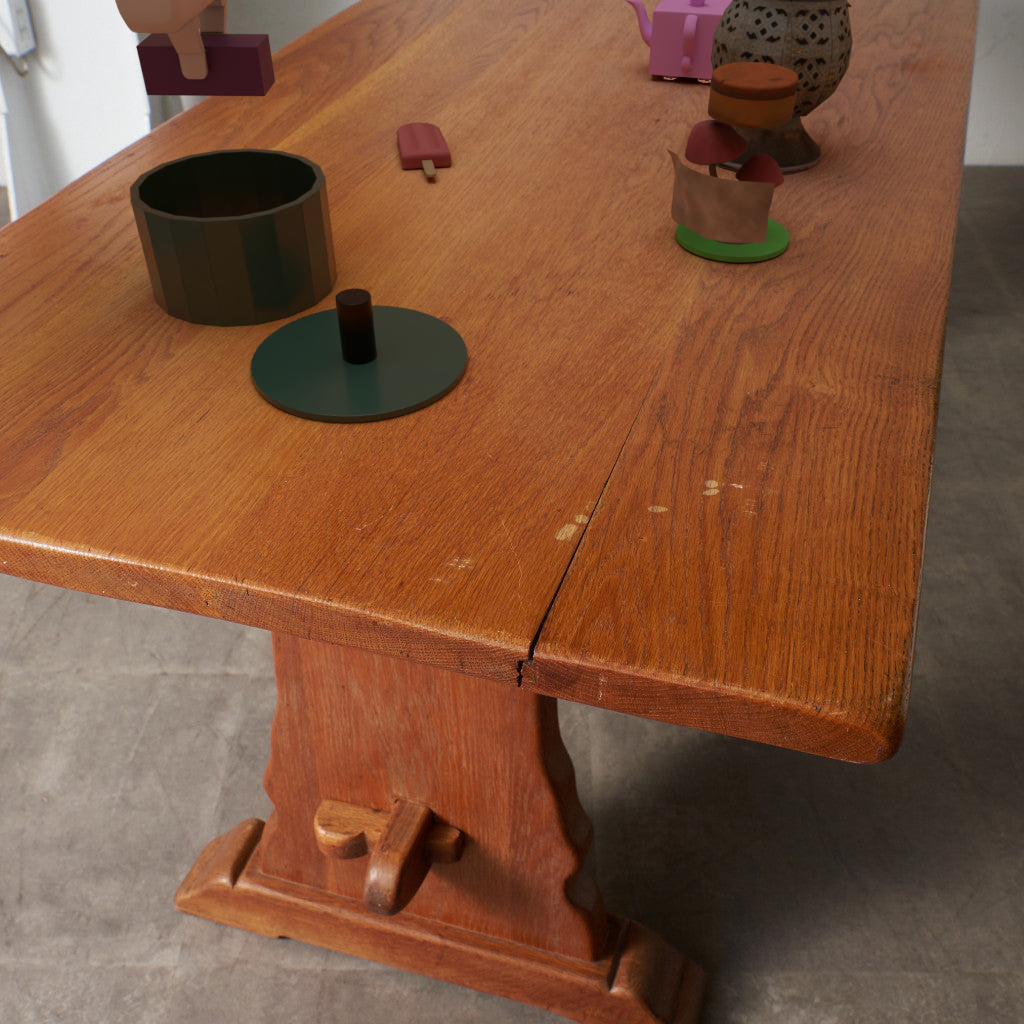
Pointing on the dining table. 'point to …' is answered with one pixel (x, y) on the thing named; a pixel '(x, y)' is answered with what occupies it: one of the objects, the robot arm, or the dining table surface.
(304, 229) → the bin
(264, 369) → the lid
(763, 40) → the lantern
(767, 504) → the dining table surface
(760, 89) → the mushroom toy stack
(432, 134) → the popsicle
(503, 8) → the dining table surface
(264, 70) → the dark purple rectangular block
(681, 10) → the teapot
